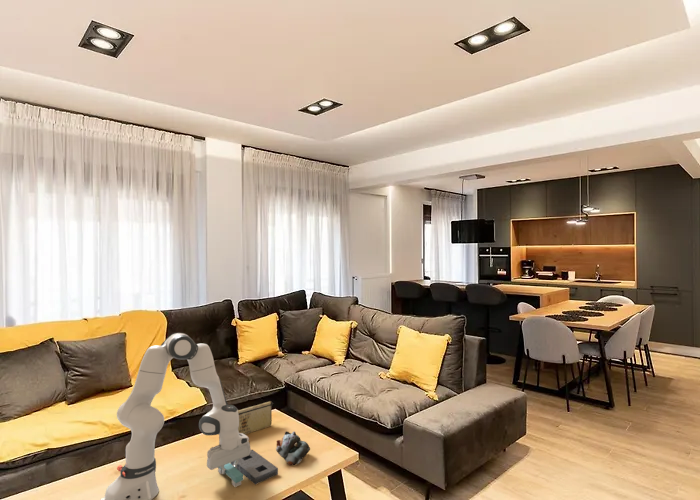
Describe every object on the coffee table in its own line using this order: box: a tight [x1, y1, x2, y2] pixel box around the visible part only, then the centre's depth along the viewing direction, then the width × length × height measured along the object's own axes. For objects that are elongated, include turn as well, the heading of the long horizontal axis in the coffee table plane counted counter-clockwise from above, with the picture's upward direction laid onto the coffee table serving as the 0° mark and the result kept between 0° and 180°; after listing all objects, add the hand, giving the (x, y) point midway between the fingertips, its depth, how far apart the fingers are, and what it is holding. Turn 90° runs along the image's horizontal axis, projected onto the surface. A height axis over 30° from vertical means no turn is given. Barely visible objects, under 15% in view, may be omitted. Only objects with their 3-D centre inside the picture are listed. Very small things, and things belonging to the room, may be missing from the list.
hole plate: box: [230, 449, 279, 486], centre depth 194 cm, size 12×24×3 cm, turn 43°
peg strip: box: [217, 463, 244, 488], centre depth 186 cm, size 4×20×5 cm, turn 43°
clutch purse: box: [237, 400, 274, 435], centre depth 234 cm, size 30×7×15 cm, turn 131°
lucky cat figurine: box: [275, 430, 311, 466], centre depth 204 cm, size 15×12×14 cm
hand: (229, 471), depth 187 cm, fingers closed on peg strip, 3 cm apart
